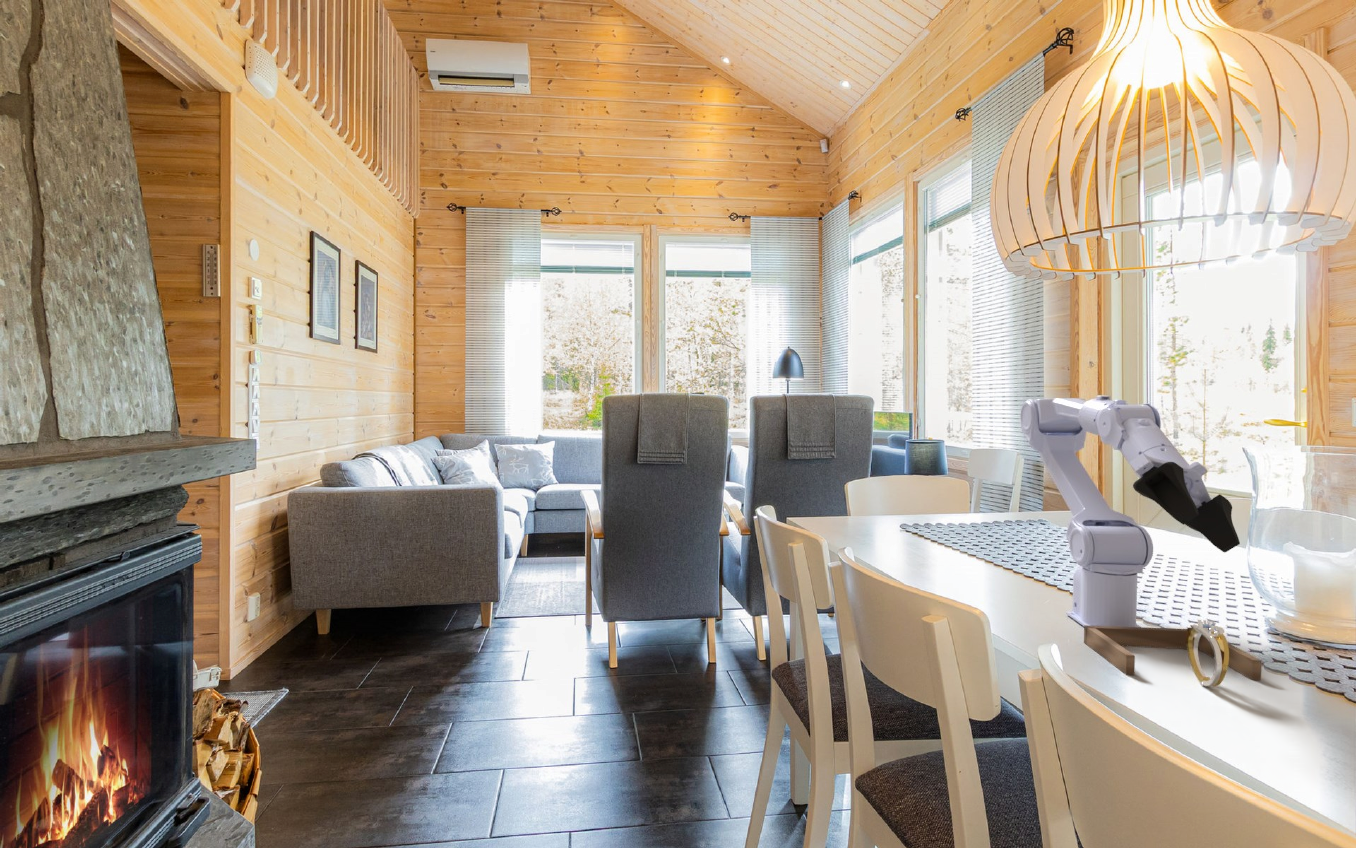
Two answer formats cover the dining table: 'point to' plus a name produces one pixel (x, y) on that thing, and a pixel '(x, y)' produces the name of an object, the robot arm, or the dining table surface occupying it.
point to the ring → (1220, 657)
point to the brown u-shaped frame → (1158, 646)
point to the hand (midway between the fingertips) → (1210, 533)
